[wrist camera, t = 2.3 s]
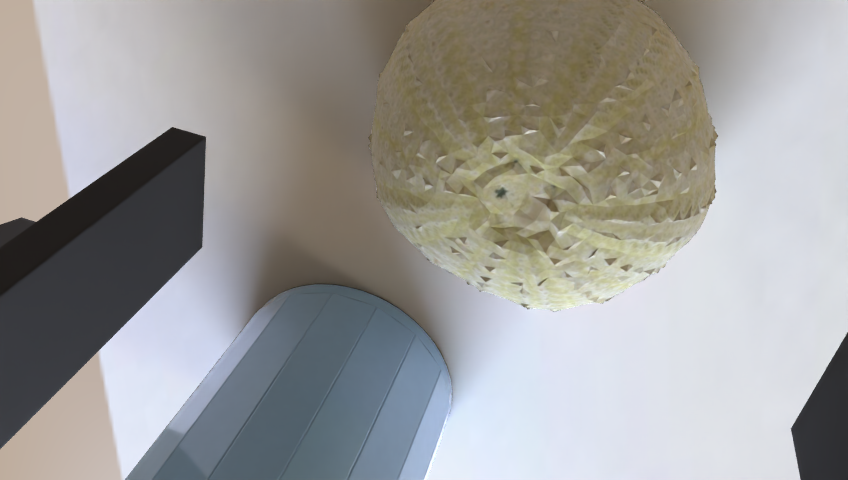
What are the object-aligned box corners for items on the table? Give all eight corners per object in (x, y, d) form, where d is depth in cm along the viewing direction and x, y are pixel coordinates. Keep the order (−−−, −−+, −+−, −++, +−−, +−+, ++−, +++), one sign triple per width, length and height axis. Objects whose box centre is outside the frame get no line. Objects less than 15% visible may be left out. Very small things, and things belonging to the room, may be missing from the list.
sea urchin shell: (538, 365, 25) (350, 349, 19) (461, 161, 29) (282, 95, 23) (815, 211, 20) (677, 128, 14) (681, -10, 24) (527, -149, 18)
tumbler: (473, 324, 27) (383, 566, 19) (430, 484, 32) (342, 736, 24) (252, 255, 29) (76, 455, 20) (241, 418, 33) (92, 637, 25)
